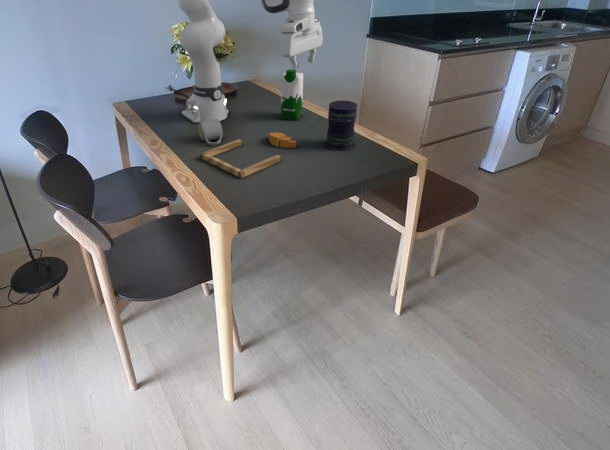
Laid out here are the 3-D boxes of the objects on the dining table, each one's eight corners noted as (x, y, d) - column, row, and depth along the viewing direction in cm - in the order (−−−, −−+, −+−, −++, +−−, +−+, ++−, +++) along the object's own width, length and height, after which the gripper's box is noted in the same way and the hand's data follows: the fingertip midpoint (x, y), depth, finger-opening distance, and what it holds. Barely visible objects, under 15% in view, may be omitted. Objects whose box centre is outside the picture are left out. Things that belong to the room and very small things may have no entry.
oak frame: (201, 158, 147) (200, 153, 146) (239, 144, 157) (239, 138, 156) (241, 178, 133) (240, 172, 132) (280, 161, 143) (280, 155, 142)
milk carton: (279, 119, 178) (278, 71, 166) (284, 113, 185) (284, 66, 173) (298, 121, 175) (300, 72, 164) (303, 114, 182) (305, 67, 171)
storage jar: (336, 152, 148) (340, 111, 139) (320, 143, 155) (323, 103, 147) (359, 146, 151) (363, 106, 143) (342, 137, 158) (345, 98, 150)
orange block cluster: (261, 140, 159) (261, 132, 157) (272, 136, 162) (272, 127, 160) (287, 151, 150) (287, 141, 148) (298, 146, 153) (299, 137, 151)
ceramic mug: (198, 137, 163) (196, 119, 159) (218, 134, 165) (216, 115, 161) (205, 148, 155) (203, 128, 151) (226, 144, 157) (225, 125, 153)
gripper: (312, 17, 148) (312, 58, 156) (275, 27, 136) (278, 71, 144) (326, 17, 145) (327, 59, 152) (291, 27, 133) (293, 72, 140)
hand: (303, 65), depth 148 cm, fingers open, 8 cm apart
